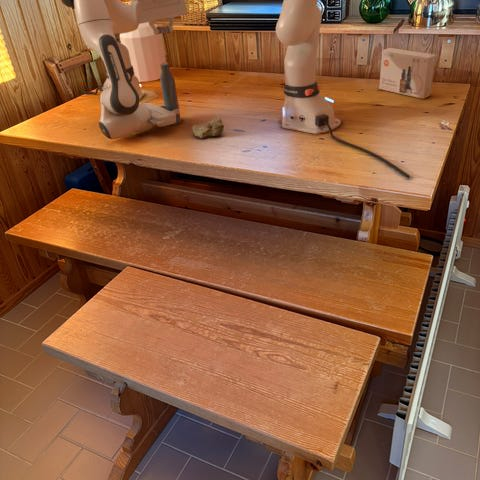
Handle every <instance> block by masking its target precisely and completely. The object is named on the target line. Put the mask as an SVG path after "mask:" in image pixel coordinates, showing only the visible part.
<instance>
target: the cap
mask: <svg viewBox="0 0 480 480" xmlns="http://www.w3.org/2000/svg"><path fill="white" fill-rule="evenodd" d="M157 29H159V33H160V34H162V35H163V34H168V33H170V32H169V24H160V25H157Z"/></svg>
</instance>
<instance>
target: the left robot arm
mask: <svg viewBox="0 0 480 480" xmlns="http://www.w3.org/2000/svg"><path fill="white" fill-rule="evenodd" d="M60 1H61V3H62V4H63V5H64V6H66V7H67V8H71V9H72V10H74V12H75V17H76V24H77V27H78V29H79V33H80V35H81V38H82V40H83V42H84V44H85V46H86V47H87V48H89V49H90V50H92V51H93V52H94V53H96V54H97V55H98V56H100V58H101V60H102V61H103V64H104V67H105V76H106V80H105V81H104V83H103V84H101V85H98V87H96V89H95V91H84V90H83V89H82V88H79V89H78V91H77V92H78V93H83V94H85V95H97V94H98V92H100V94H99V104H100V118H99V119H98V120H99V121H98V127H99V129H100V131H101V133H102V134H103V135H104V137H106V138H107V139H109V140H120V139H123V138H127V137H130V136H131V135H133V134H137V133H142V132H145V131H148V130H151V129H152V127H153V126H156V127H159V128H160V127H166V126H170V124H174V123H175V122H176V114H179V113H180V114H181V110H180V108H179V109H177V108H176V109H173V111H169V110H166V109H165V107H164V104H163V105H161V104H160V105H157V104H155V103H153V102H144V103H140V100H141V99H142V98H143V96H145V95H146V93H145V91H143V90H142V84H140V82H139V80H138V78H137V77H136V76H134V69H133V66H132V65H131V61H130V56H129V51H128V49H127V47H126V46H125V45H123V44H121V42H118V41H117V39H116V35H120V34H122V33H128V32H131V31H134V30H136V29H137V28H138V26H139V24H137V23H135V22H134V21H133V19H132V14H131V4H128V3H126V2H123V1H122V0H60ZM179 110H180V111H179Z"/></svg>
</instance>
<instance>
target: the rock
mask: <svg viewBox="0 0 480 480" xmlns="http://www.w3.org/2000/svg"><path fill="white" fill-rule="evenodd" d="M224 127H225V124H224V123H223V121H222V119H221V118H220V117H218V116H215V117H213V118H211V119H210V120H208V121H207V122H206V123H205V124H193V125H192V132H193V135H194V136H195V137H196V138H198V139H205V138H212V137H220V136H221V135H222V133H223V132H224Z"/></svg>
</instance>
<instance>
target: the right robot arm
mask: <svg viewBox="0 0 480 480" xmlns="http://www.w3.org/2000/svg"><path fill="white" fill-rule="evenodd" d="M318 2H319V0H283V1H282V4H281V5H282V6H281V10H280V13H279V18H278V20H277V22H276V26H275V35H276V37H277V39H278V41H279V42H280V43H281V44H283V45H284V46H286V52H285V55H284V59H283V67H284V68H283V70H284V82H283V89H282V90H283V94H284V103H283V107H282V116H281V120H280V121H281V128H282V129H288V130H292V131H298V132H303V133H309V134H313V135H314V134H315V135H319V134H324V133H328V132H329V135H330V136H331V138H332V139H333V140H335V141H336V142H338V143H341V144H344V145H346V146H349V147H352V148H354V149H357V150H360V151H362V152H364V153H366V154H369V155H371V156H373V157H375V158H377V159H378V160H380V161H382V162H384V164H386V165H388V166H390V168H393V169H394V170H396V171H397V172H399V173H400V174H402V175H403V176H404V177H406V178H407V179H409V178H410V176H411V175H410V174H408V173H406V172H405V171H404V170H402V169H401V168H399V167H397V166H396V165H394V164H393V163H392V162H390V161H388V160H387V159H385V158H384V157H382V156H380V155H379V154H376V153H374V152H373V151H370V150H368V149H367V148H363V147H361V146H359V145H355V144H353V143H350V142H348V141H346V140H344V139H343V140H342V139H339V138H338V137H335V135H334V134H333V130H335V129H337V128H338V127H339V126H340V125H341V124H342V120H341V119H340V118H337V117H336V116H335V110H334V109H335V108H334V106H333V105H332V104H331V103H334V100H333V99H331V98H329V97H326V96H325V97H324V96H323V95H322V94H321V93H320V90H321V89H322V86H323V85H322V84H320V85H319V84H318V81H317V56H318V55H317V54H318V48H319V40H320V39H319V38H320V32H321V25H322V20H323V19H322V17H323V15H322V11H321V9H320V8H319V6H318ZM130 5H131V14H132V19H133V21H134V22H135V23H137V24H141V23H146V22H149V25H150V26H151V28H152V29H153V32H154V35H157V34H160V33H159V29H157V28H156V27H155V26H154V24H156V21H161V20H165V19H168V21H169V23H168V26H169V32H168V33H172V32H174V27H173V26H174V24H175V17H180V16H185V15H187V13H188V7H187V3H186V0H131V1H130ZM330 102H331V103H330Z"/></svg>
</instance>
